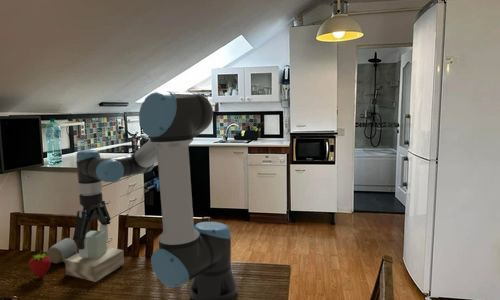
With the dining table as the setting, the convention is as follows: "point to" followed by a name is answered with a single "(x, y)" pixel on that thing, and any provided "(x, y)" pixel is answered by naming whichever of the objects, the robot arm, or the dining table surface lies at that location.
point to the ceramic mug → (62, 251)
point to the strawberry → (40, 264)
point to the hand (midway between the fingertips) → (94, 248)
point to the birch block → (95, 265)
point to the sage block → (96, 244)
